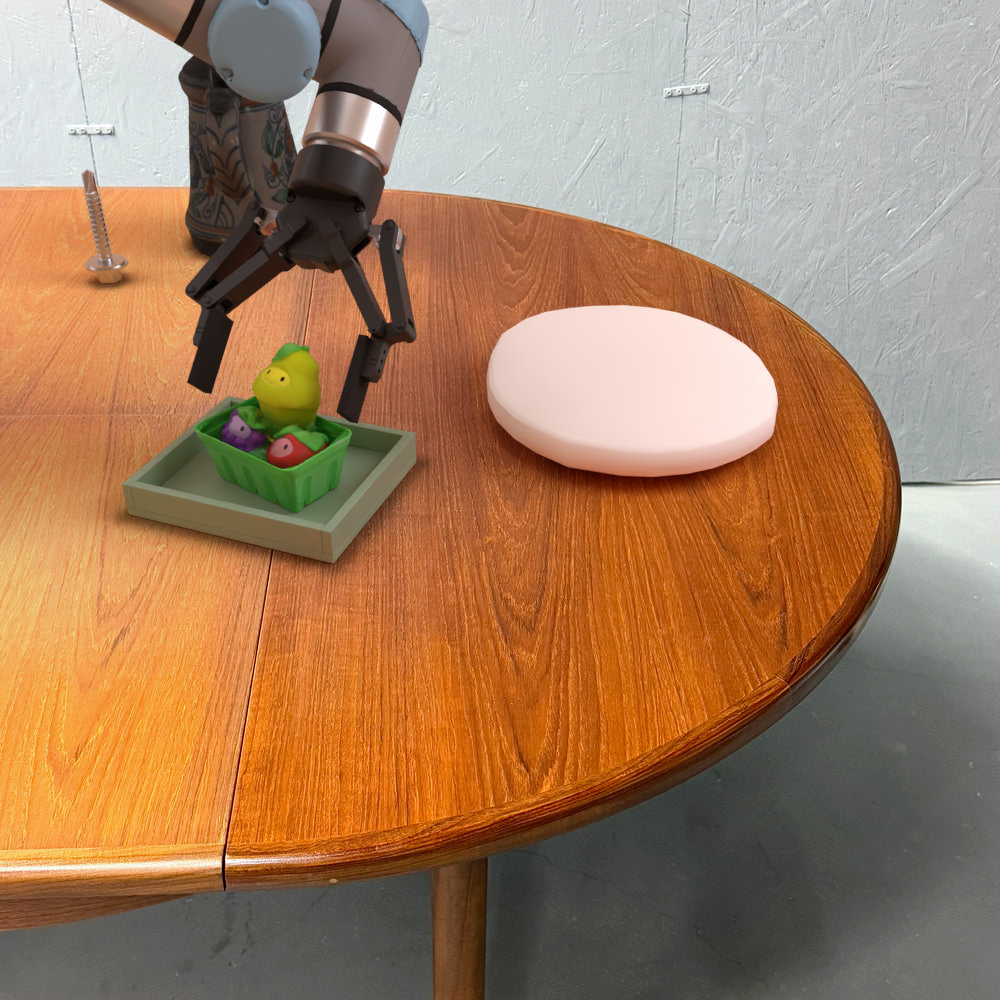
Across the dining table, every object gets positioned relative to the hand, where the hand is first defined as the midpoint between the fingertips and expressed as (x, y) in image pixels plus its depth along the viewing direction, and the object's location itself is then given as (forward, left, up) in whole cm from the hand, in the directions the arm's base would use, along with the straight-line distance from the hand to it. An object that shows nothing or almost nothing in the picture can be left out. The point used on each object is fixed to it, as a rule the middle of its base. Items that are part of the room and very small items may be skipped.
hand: (271, 403), depth 87 cm
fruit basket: (+1, 0, -7) cm, 7 cm away
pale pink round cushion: (+24, +22, -8) cm, 34 cm away
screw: (-41, +31, -8) cm, 52 cm away
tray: (0, -1, -8) cm, 8 cm away
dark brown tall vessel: (-31, +48, -8) cm, 58 cm away
